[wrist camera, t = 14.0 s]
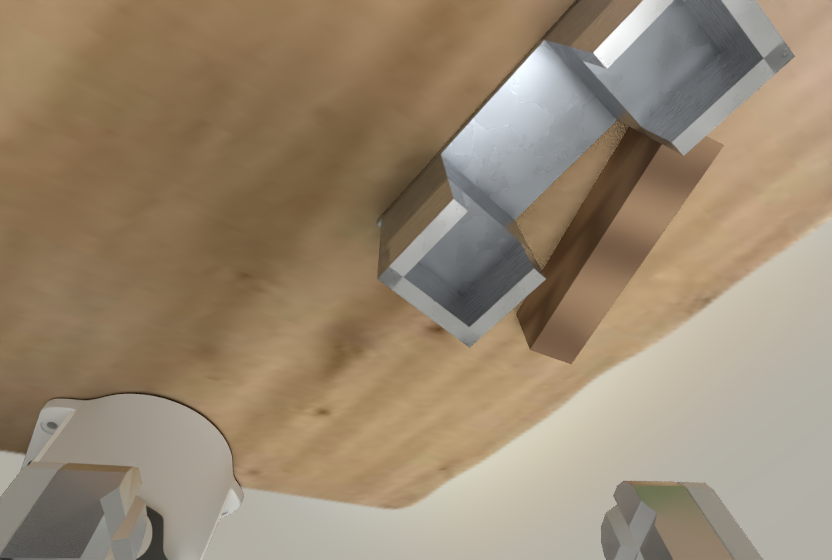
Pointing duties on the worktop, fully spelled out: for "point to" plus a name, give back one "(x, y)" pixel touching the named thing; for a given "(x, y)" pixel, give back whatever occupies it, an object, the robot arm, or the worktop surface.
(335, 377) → the worktop surface
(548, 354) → the rail
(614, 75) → the bracket stand
